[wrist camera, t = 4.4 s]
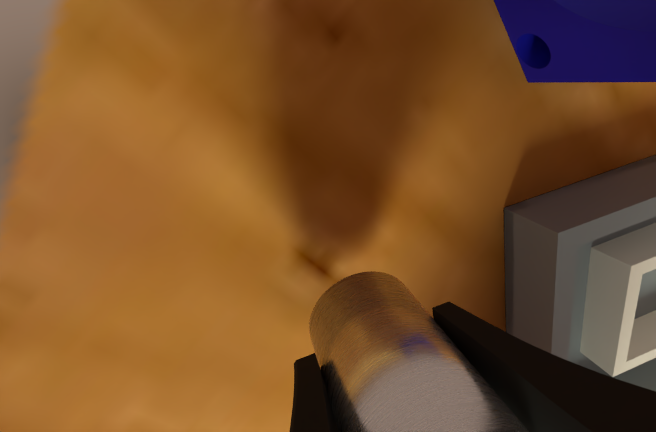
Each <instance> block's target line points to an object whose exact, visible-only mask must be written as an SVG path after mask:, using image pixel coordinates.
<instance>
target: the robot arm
mask: <svg viewBox="0 0 656 432" xmlns="http://www.w3.org/2000/svg"><path fill="white" fill-rule="evenodd" d="M432 309H433V316H434V320H435V322H436V323H437V324H438V325H439V326H440V328H441V329H442V330H443V331H444V332H445V333H446V335H447V336H448V337H449V338H450V339H451V341H452V342H453V343H454V344H455V345H456V346H457V348H458V349H459V350H460V351H461V352H462V353H463V355H464V356H465V357H466V358H467V359H468V361H469V362H470V363H471V364H472V365H473V366H474V368H475V369H476V370H477V371H478V372H479V374H480V375H481V376H482V377H483V378H484V379H485V381H486V382H487V383H488V384H489V385H490V387H491V388H492V389H493V390H494V391H495V392H496V394H497V395H498V396H499V397H500V398H501V399H502V401H503V402H504V403H505V404H506V405H507V407H508V408H509V409H510V410H511V411H512V412H513V414H514V415H515V416H516V417H517V418H518V420H519V421H520V422H521V423H522V424H523V425H524V427H525V428H526V429H527V430H528V431H529V432H656V391H653V390H650V389H646V388H643V387H640V386H637V385H634V384H631V383H628V382H625V381H622V380H619V379H616V378H613V377H610V376H607V375H604V374H601V373H599V372H596V371H593V370H591V369H588V368H586V367H583V366H580V365H578V364H575V363H573V362H570V361H567V360H565V359H563V358H560V357H558V356H555V355H553V354H551V353H549V352H547V351H544V350H542V349H540V348H538V347H535V346H533V345H531V344H529V343H527V342H525V341H523V340H521V339H519V338H517V337H515V336H513V335H511V334H509V333H507V332H505V331H503V330H501V329H499V328H497V327H495V326H493V325H491V324H489V323H488V322H486V321H484V320H482V319H480V318H478V317H476V316H475V315H473V314H471V313H469V312H467V311H466V310H464V309H462V308H460V307H458V306H456V305H454V304H453V303H451V302H447V303H444V304H441V305H439V306H436V307H433V308H432ZM290 432H339V431H338V428H337V425H336V421H335V418H334V414H333V411H332V407H331V404H330V400H329V396H328V393H327V389H326V386H325V383H324V379H323V376H322V373H321V369H320V366H319V363H318V360H317V357H316V355H315V353H314V354H311V355H309V356H306V357H303V358H301V359H298V360H296V362H295V363H294V398H293V409H292V417H291V426H290Z"/></svg>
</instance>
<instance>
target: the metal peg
mask: <svg viewBox="0 0 656 432" xmlns="http://www.w3.org/2000/svg"><path fill="white" fill-rule="evenodd" d="M309 332H310V337H311V341H312V344H313V347H314V351H315V354H316V357H317V360H318V363H319V366H320V369H321V373H322V376H323V379H324V383H325V386H326V389H327V393H328V396H329V400H330V404H331V407H332V411H333V414H334V418H335V421H336V425H337V428H338V431H339V432H529V431H528V430H527V429H526V428H525V427H524V425H523V424H522V423H521V422H520V421H519V420H518V418H517V417H516V416H515V415H514V414H513V412H512V411H511V410H510V409H509V408H508V407H507V405H506V404H505V403H504V402H503V401H502V399H501V398H500V397H499V396H498V395H497V394H496V392H495V391H494V390H493V389H492V388H491V387H490V385H489V384H488V383H487V382H486V381H485V379H484V378H483V377H482V376H481V375H480V374H479V372H478V371H477V370H476V369H475V368H474V366H473V365H472V364H471V363H470V362H469V361H468V359H467V358H466V357H465V356H464V355H463V353H462V352H461V351H460V350H459V349H458V348H457V346H456V345H455V344H454V343H453V342H452V341H451V339H450V338H449V337H448V336H447V335H446V333H445V332H444V331H443V330H442V329H441V328H440V326H439V325H438V324H437V323H436V322H435V320H434V319H433V318H432V317H431V316H430V315H429V313H428V312H427V311H426V310H425V309H424V308H423V306H422V305H421V304H420V303H419V302H418V300H417V299H416V298H415V297H414V296H413V295H412V293H411V292H410V291H409V290H408V289H407V287H406V286H405V285H404V284H403V283H402V282H401V281H400V280H398V279H397V278H395V277H394V276H392V275H389V274H386V273H382V272H362V273H357V274H354V275H351V276H348V277H346V278H344V279H342V280H340V281H338V282H337V283H336V284H334V285H333V286H331V287H330V288H329V289H328V290H327V291H326V292H325V293H324V294H323V295H322V296H321V297H320V299H319V300H318V302H317V303H316V305H315V307H314V309H313V311H312V314H311V318H310V323H309Z"/></svg>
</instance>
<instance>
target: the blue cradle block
mask: <svg viewBox="0 0 656 432" xmlns="http://www.w3.org/2000/svg"><path fill="white" fill-rule="evenodd" d="M494 2H495V5H496V7H497V9H498V12H499V14H500V17H501V19H502V21H503V24H504V26H505V29H506V31H507V33H508V36H509V38H510V40H511V43H512V45H513V48H514V50H515V52H516V55H517V57H518V60H519V62H520V64H521V67H522V69H523V71H524V74H525V76H526V79H527V81H528V82H656V0H494Z"/></svg>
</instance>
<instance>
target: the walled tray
mask: <svg viewBox="0 0 656 432" xmlns="http://www.w3.org/2000/svg"><path fill="white" fill-rule="evenodd" d="M504 242H505V300H506V332H507V333H509V334H511V335H513V336H515V337H517V338H519V339H521V340H523V341H525V342H527V343H529V344H531V345H533V346H535V347H538V348H540V349H542V350H544V351H547V352H549V353H551V354H553V355H555V356H558V357H560V358H563V359H565V360H567V361H570V362H573V363H575V364H578V365H580V366H583V367H586V368H588V369H591V370H593V371H596V372H599V373H601V374H604V375H607V376H610V377H613V378H616V379H619V380H622V381H625V382H628V383H631V384H634V385H637V386H640V387H643V388H646V389H650V390H653V391H656V155H654V156H651V157H648V158H645V159H642V160H640V161H637V162H634V163H631V164H628V165H625V166H622V167H620V168H617V169H614V170H611V171H608V172H605V173H602V174H600V175H597V176H594V177H591V178H588V179H585V180H582V181H580V182H577V183H574V184H571V185H568V186H565V187H563V188H560V189H557V190H554V191H551V192H548V193H545V194H543V195H540V196H537V197H534V198H531V199H528V200H525V201H523V202H520V203H517V204H514V205H511V206H508V207H505V208H504Z"/></svg>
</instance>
